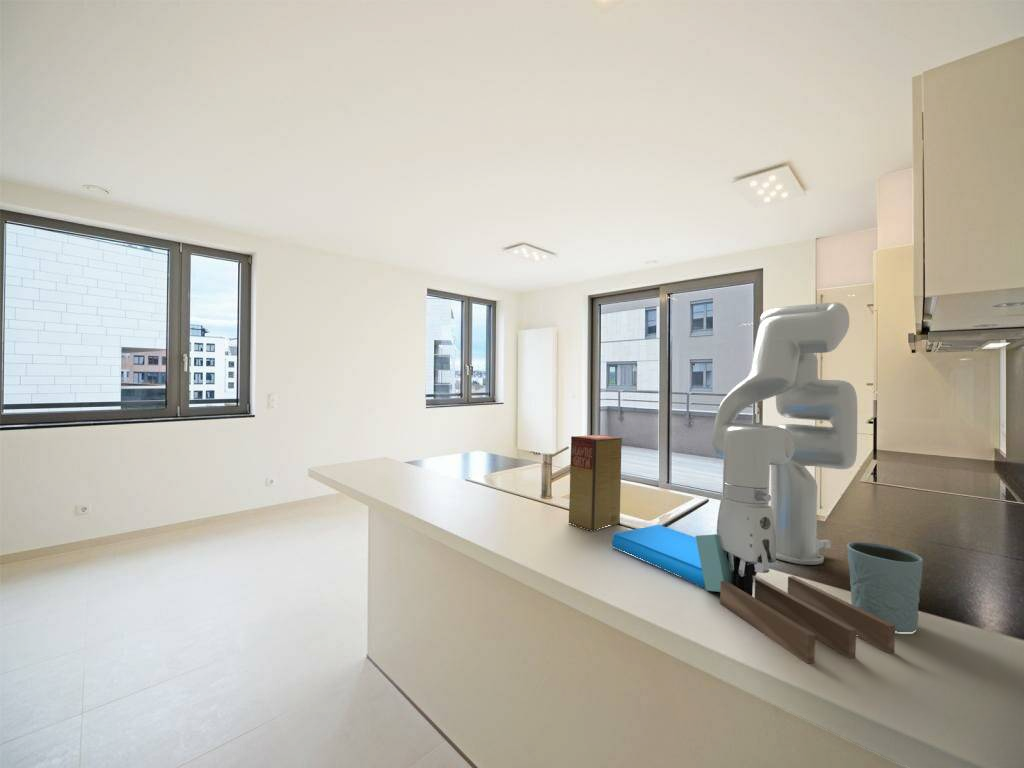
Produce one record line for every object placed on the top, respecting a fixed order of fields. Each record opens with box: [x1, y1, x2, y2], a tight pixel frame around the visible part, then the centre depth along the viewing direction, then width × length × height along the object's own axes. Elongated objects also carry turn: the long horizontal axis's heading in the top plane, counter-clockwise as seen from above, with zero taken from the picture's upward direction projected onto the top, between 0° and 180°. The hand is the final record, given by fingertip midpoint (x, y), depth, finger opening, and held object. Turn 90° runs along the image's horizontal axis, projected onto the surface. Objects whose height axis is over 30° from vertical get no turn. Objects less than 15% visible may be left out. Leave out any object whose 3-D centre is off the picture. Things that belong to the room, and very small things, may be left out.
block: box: [695, 533, 733, 593], centre depth 86 cm, size 5×5×10 cm
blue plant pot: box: [846, 541, 924, 632], centre depth 77 cm, size 10×10×12 cm
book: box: [611, 524, 705, 588], centre depth 102 cm, size 17×4×25 cm
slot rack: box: [719, 575, 896, 664], centre depth 74 cm, size 16×18×4 cm
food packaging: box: [568, 434, 622, 532], centre depth 128 cm, size 13×9×25 cm
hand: (741, 595), depth 81 cm, fingers closed
